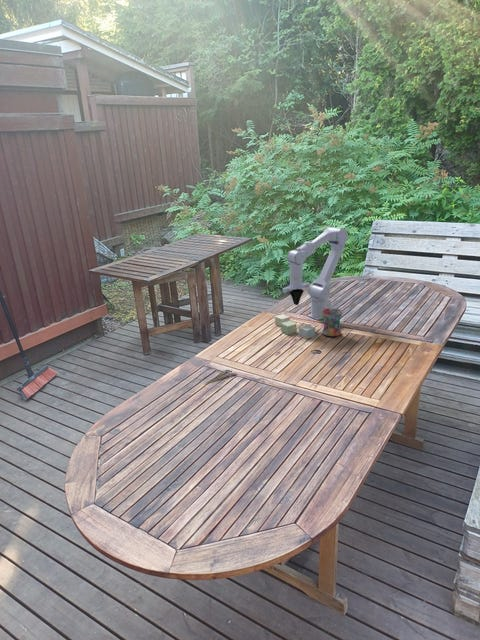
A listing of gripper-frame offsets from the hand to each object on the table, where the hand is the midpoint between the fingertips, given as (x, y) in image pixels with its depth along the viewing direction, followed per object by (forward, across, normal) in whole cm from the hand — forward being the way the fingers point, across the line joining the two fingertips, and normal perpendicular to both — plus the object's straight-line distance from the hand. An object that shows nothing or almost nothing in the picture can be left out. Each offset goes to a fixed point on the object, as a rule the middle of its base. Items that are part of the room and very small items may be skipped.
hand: (296, 304), depth 214 cm
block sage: (+10, -9, -6) cm, 15 cm away
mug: (+10, +5, -20) cm, 23 cm away
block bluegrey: (+10, -6, -15) cm, 19 cm away
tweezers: (+10, -59, -26) cm, 65 cm away
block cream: (+10, -6, +3) cm, 12 cm away
